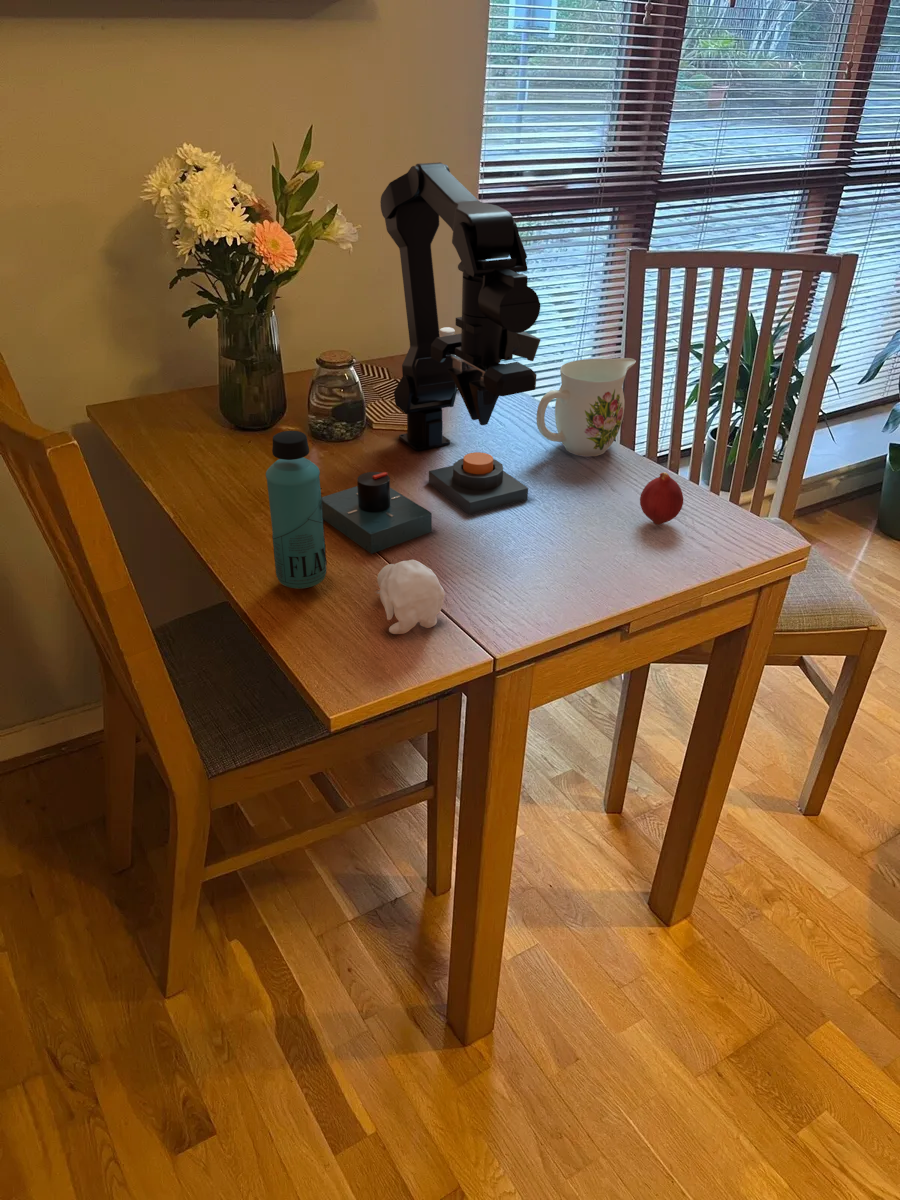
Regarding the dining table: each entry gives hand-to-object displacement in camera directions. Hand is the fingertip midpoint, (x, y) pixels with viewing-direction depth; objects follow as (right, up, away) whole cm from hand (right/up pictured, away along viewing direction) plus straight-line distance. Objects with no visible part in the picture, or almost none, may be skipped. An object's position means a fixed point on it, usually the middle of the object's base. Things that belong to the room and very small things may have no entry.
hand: (479, 422), depth 132 cm
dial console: (-15, -15, -3) cm, 21 cm away
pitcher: (+17, -1, +20) cm, 26 cm away
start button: (0, -6, +4) cm, 7 cm away
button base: (0, -9, +6) cm, 11 cm away
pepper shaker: (-5, +20, +40) cm, 44 cm away
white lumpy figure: (-10, -27, -22) cm, 36 cm away
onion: (+25, -15, -2) cm, 29 cm away
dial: (-15, -12, -5) cm, 20 cm away
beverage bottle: (-23, -24, -17) cm, 37 cm away
